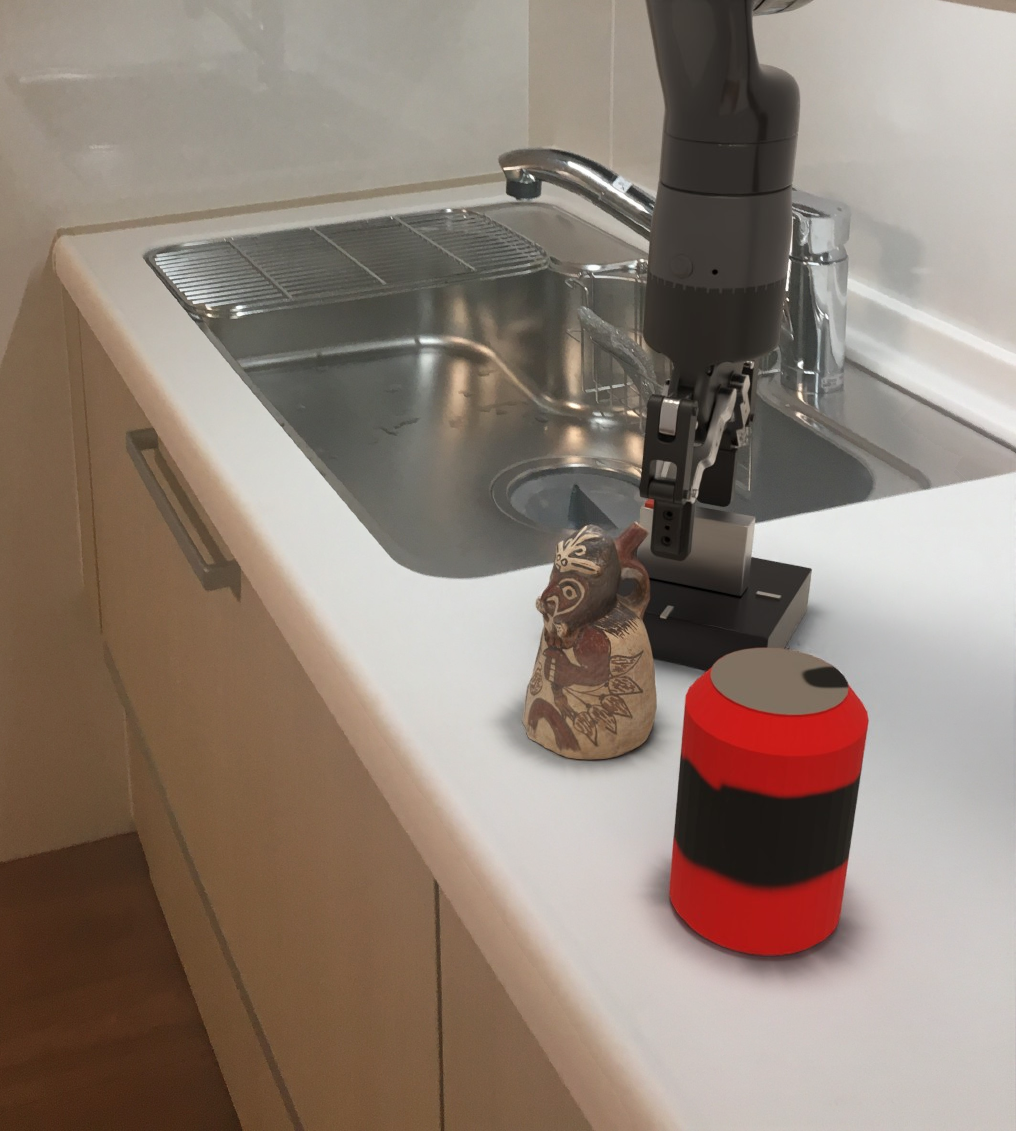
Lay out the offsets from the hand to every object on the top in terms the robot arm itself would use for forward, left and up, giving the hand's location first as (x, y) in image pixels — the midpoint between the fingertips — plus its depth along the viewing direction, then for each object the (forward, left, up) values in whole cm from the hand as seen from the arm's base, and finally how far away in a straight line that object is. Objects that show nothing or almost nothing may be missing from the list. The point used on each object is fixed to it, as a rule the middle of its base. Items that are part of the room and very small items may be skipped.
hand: (692, 528), depth 93 cm
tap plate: (0, 0, -7) cm, 7 cm away
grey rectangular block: (0, 0, -3) cm, 3 cm away
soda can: (-11, +25, -7) cm, 28 cm away
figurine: (+1, +14, -7) cm, 15 cm away
